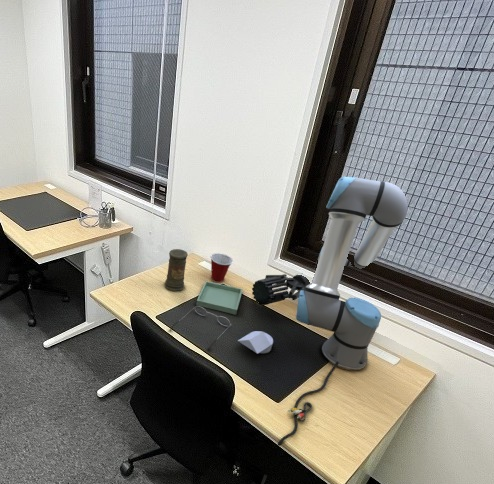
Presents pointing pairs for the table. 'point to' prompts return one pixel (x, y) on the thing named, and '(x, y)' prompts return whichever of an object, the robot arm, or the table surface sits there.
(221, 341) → the table surface
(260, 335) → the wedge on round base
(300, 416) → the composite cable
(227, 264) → the plastic cup
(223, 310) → the desk tray
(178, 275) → the container
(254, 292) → the pen pot
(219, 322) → the eyeglasses
